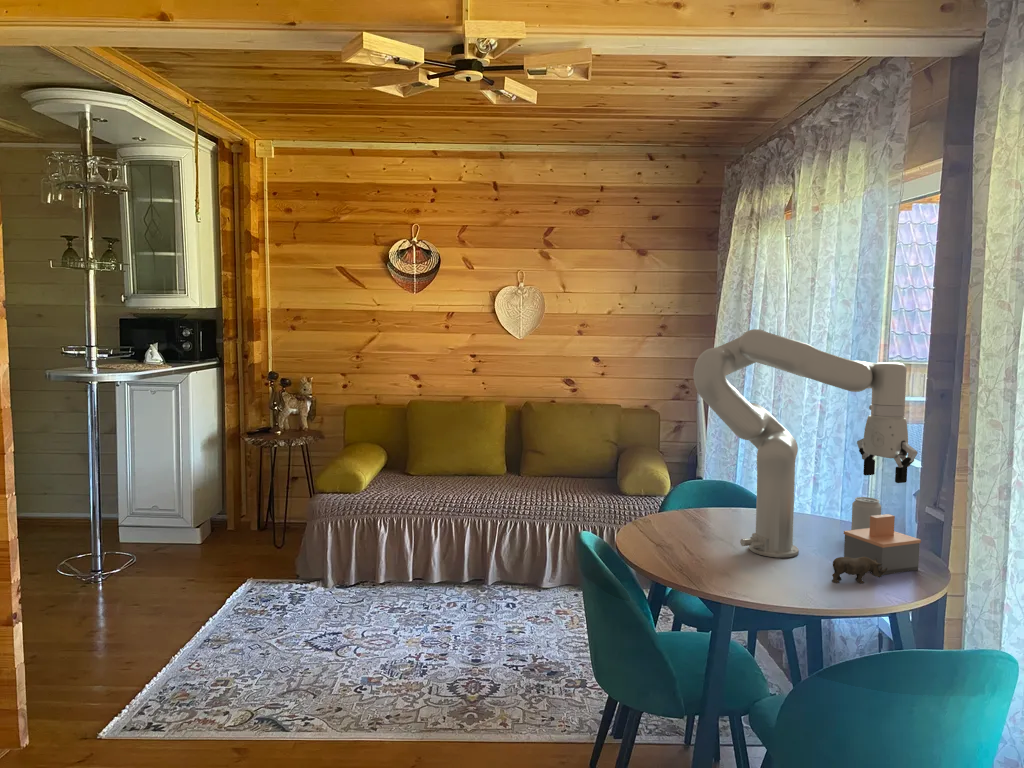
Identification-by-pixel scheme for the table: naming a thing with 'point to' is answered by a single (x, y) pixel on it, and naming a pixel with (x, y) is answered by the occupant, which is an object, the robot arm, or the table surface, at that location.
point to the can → (864, 512)
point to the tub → (884, 555)
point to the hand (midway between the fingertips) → (884, 478)
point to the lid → (882, 533)
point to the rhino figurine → (856, 568)
